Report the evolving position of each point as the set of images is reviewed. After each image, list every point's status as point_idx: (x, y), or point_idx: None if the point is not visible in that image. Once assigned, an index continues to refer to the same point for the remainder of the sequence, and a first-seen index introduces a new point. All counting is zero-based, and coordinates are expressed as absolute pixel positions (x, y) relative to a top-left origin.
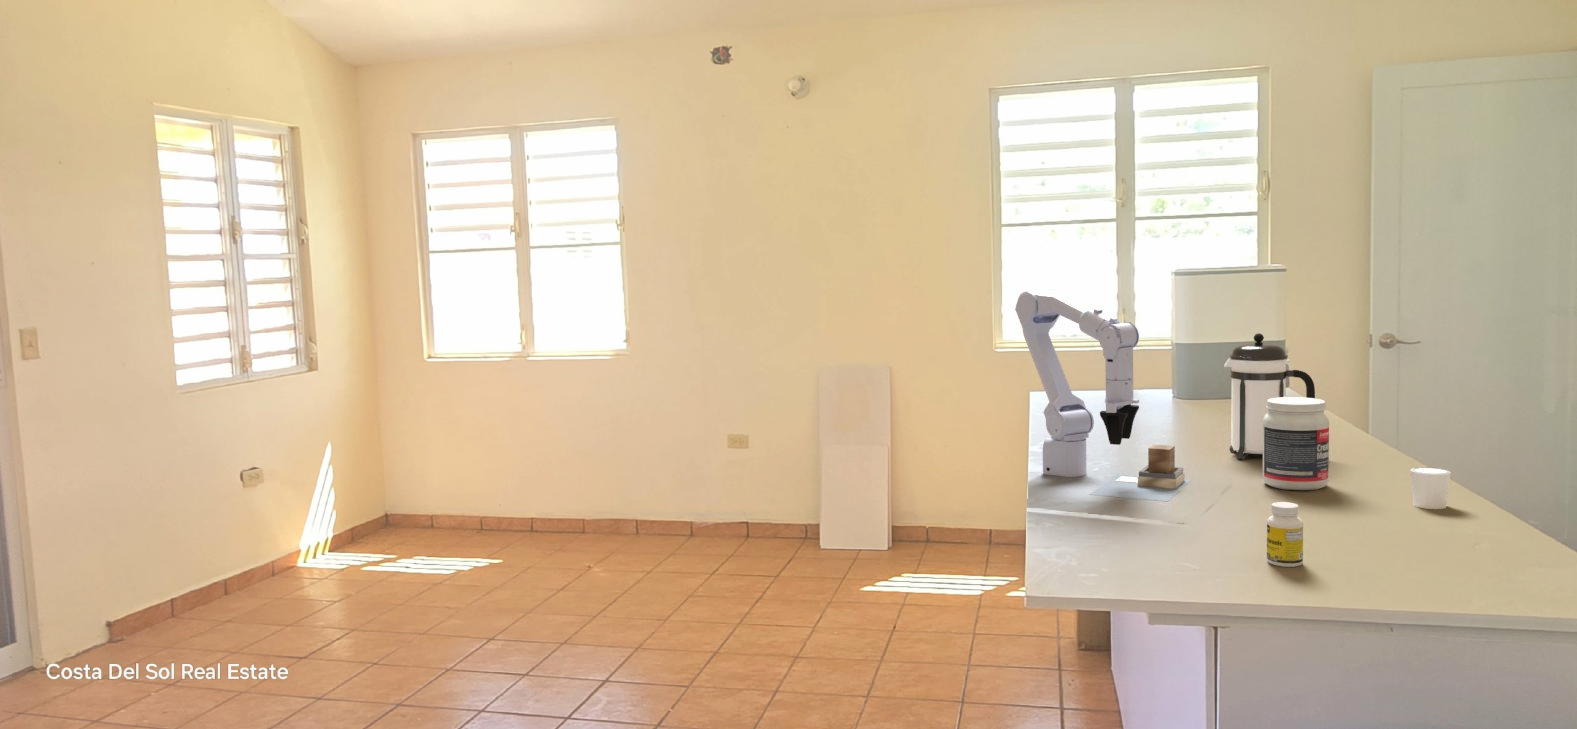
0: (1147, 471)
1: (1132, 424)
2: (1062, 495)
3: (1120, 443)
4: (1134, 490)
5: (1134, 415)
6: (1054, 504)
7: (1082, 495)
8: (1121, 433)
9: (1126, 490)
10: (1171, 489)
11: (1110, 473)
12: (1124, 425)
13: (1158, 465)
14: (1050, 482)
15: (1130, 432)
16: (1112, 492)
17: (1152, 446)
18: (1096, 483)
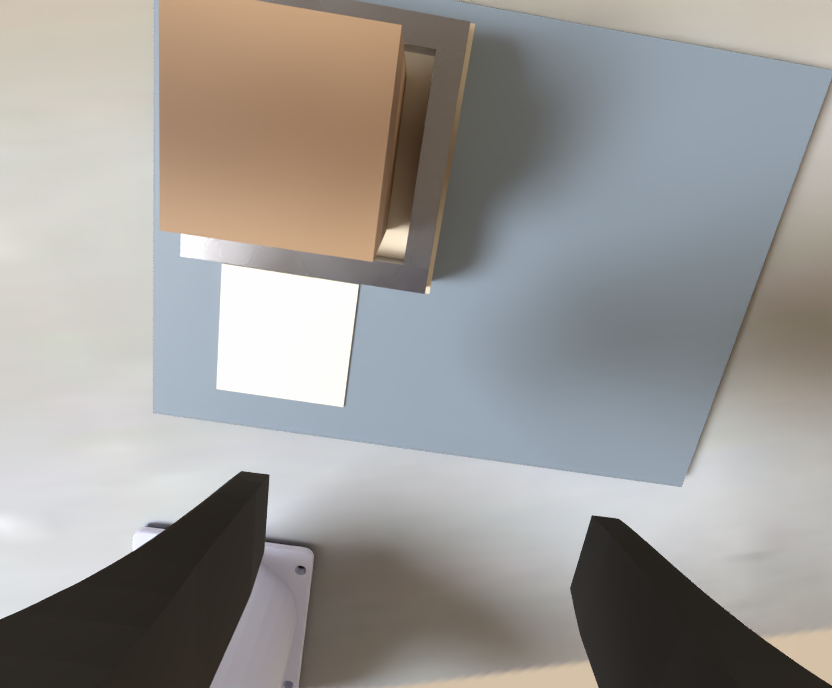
0: None
1: (158, 543)
2: None
3: (603, 519)
4: (561, 286)
5: (90, 631)
6: (801, 585)
7: (614, 507)
8: (698, 589)
9: (567, 327)
10: (497, 69)
11: (72, 448)
12: (209, 617)
13: (392, 160)
14: (372, 655)
15: (244, 499)
16: (626, 389)
17: (264, 230)
18: (337, 482)
